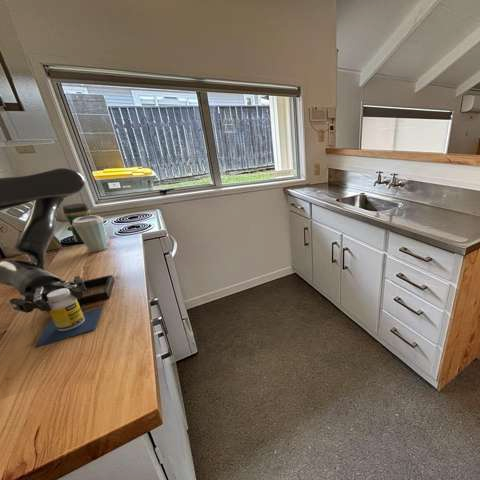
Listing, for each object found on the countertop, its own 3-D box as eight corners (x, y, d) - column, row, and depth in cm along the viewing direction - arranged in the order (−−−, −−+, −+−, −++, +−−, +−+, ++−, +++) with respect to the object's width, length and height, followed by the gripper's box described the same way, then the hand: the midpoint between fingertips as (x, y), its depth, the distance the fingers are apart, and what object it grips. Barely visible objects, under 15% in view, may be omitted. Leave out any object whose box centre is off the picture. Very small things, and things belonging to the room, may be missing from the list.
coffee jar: (98, 235, 135) (86, 201, 129) (101, 239, 130) (88, 203, 124) (74, 240, 129) (60, 204, 122) (76, 244, 124) (61, 207, 117)
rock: (21, 252, 109) (51, 244, 113) (17, 234, 111) (46, 227, 115) (38, 258, 119) (65, 251, 123) (34, 242, 121) (61, 235, 125)
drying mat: (34, 347, 60) (34, 346, 60) (50, 321, 69) (50, 320, 69) (94, 330, 65) (94, 329, 65) (102, 308, 74) (101, 307, 74)
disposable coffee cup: (115, 248, 118) (104, 217, 112) (84, 256, 110) (72, 222, 105) (109, 243, 124) (99, 213, 119) (80, 250, 117) (68, 218, 111)
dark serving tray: (51, 313, 72) (48, 305, 72) (65, 292, 83) (62, 285, 82) (109, 298, 79) (106, 291, 78) (114, 281, 89) (112, 274, 88)
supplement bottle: (76, 330, 65) (61, 297, 61) (51, 333, 64) (35, 299, 61) (90, 316, 70) (77, 285, 66) (67, 319, 69) (53, 287, 66)
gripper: (-7, 285, 64) (15, 303, 56) (67, 262, 75) (94, 275, 67) (6, 310, 66) (30, 331, 58) (76, 284, 78) (103, 299, 70)
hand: (64, 301), depth 63 cm, fingers closed on supplement bottle, 5 cm apart
